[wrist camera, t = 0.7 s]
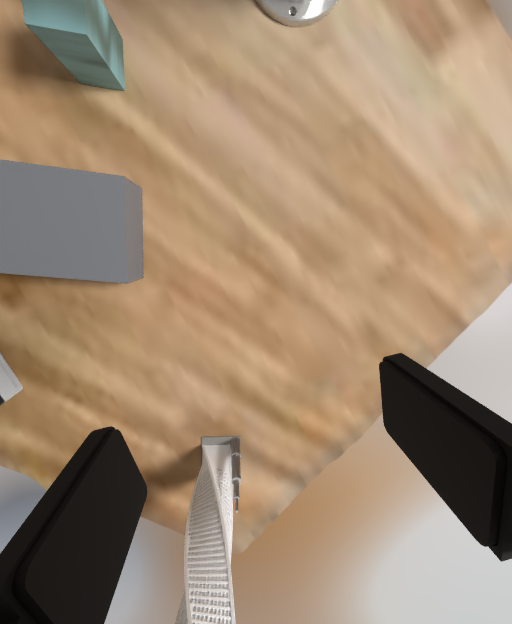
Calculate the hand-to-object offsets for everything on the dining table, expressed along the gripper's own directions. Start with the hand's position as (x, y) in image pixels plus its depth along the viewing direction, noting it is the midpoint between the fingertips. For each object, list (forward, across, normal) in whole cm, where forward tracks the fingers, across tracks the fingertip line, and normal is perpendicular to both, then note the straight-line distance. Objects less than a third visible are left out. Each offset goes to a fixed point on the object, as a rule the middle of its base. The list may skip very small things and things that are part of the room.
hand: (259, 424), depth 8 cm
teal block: (+30, +9, -29) cm, 43 cm away
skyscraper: (+30, +11, +30) cm, 44 cm away
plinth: (+30, +19, -12) cm, 37 cm away
